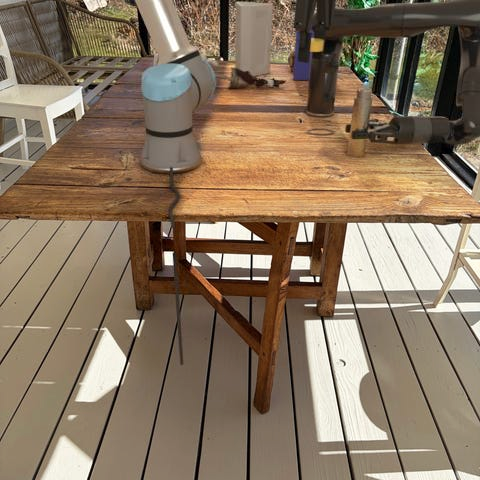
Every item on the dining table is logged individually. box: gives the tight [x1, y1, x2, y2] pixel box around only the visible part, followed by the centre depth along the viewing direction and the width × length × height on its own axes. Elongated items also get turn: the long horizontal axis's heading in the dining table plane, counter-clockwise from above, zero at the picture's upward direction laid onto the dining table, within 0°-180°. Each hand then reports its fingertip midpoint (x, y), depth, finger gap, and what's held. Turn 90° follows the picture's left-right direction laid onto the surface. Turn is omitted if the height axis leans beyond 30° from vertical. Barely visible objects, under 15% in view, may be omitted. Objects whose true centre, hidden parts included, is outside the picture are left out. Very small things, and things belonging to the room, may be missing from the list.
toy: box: [153, 51, 219, 68], centre depth 223 cm, size 24×25×7 cm
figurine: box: [215, 66, 287, 89], centre depth 190 cm, size 24×8×30 cm
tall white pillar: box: [234, 1, 274, 77], centre depth 210 cm, size 19×15×28 cm
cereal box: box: [292, 28, 314, 81], centre depth 201 cm, size 17×5×24 cm, turn 86°
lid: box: [310, 38, 324, 52], centre depth 112 cm, size 5×5×2 cm
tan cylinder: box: [346, 87, 374, 158], centre depth 126 cm, size 5×5×17 cm
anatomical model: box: [287, 49, 295, 72], centre depth 221 cm, size 13×9×15 cm
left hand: (310, 60), depth 114 cm, fingers closed on lid, 5 cm apart
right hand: (349, 131), depth 127 cm, fingers closed on tan cylinder, 4 cm apart
